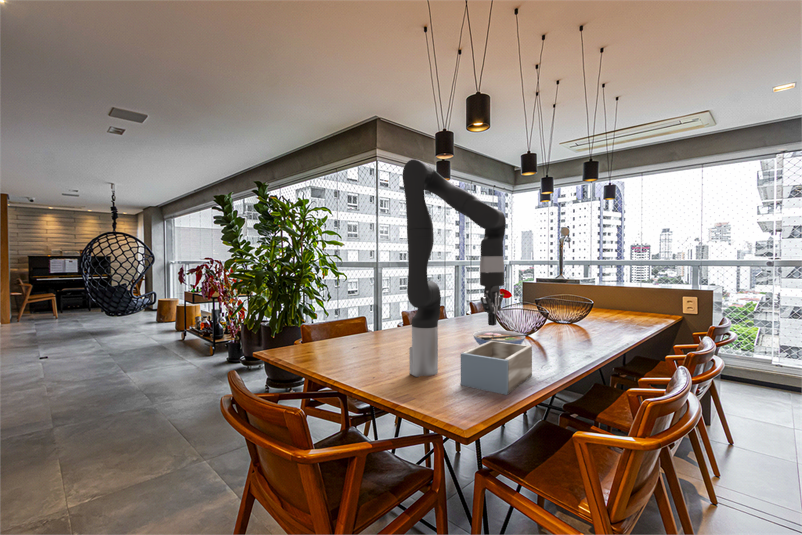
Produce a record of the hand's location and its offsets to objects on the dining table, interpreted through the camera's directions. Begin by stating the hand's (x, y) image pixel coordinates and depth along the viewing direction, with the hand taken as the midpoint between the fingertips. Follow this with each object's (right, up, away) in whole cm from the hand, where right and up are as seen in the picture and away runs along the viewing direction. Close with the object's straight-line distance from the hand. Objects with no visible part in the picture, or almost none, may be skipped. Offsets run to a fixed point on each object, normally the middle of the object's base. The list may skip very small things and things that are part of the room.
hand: (492, 325), depth 120 cm
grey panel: (-4, -19, -5) cm, 20 cm away
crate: (+3, -20, +4) cm, 20 cm away
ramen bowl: (+14, -19, +47) cm, 53 cm away
